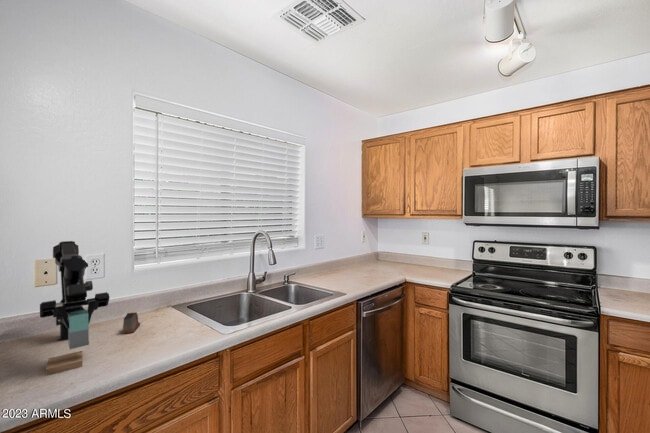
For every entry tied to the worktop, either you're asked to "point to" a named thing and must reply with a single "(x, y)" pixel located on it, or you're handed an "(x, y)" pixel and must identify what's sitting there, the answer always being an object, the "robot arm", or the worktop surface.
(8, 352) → the worktop surface
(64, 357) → the stand
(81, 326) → the teal block grey base
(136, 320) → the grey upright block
